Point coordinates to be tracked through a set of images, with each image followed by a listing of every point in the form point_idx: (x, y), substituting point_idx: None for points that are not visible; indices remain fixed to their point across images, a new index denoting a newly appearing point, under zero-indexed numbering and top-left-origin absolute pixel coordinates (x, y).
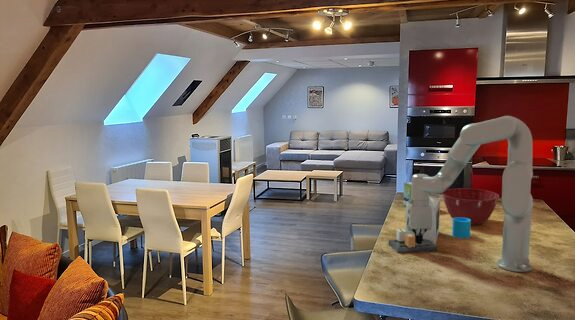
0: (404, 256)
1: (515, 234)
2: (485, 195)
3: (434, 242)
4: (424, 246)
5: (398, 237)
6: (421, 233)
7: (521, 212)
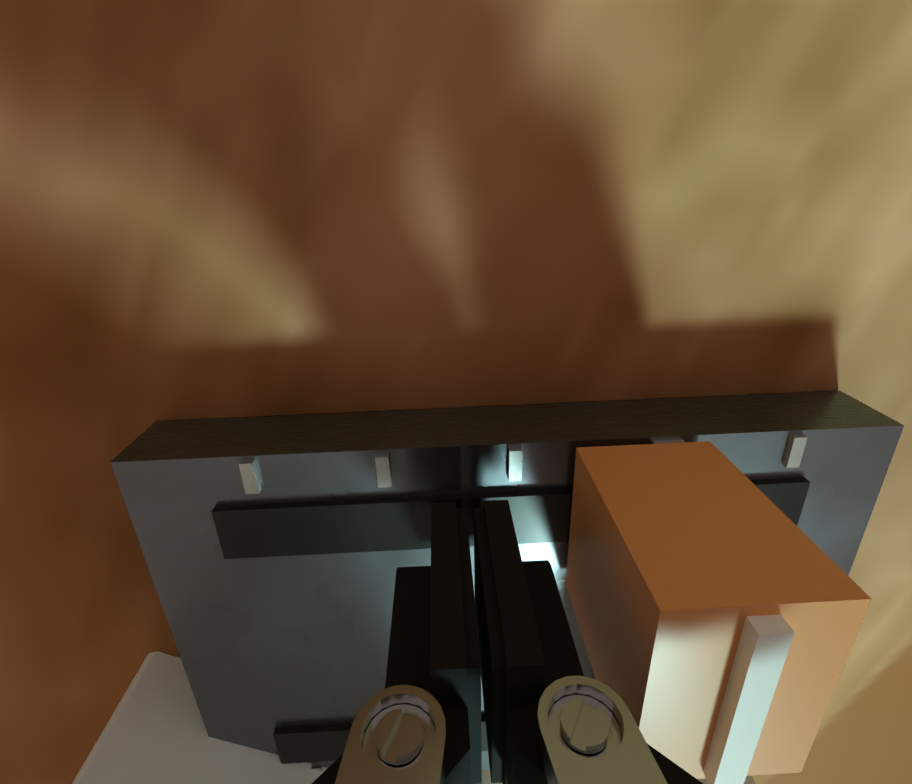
0: (844, 200)
1: None
2: None
3: (136, 682)
4: (377, 463)
5: None
6: (445, 743)
7: None
